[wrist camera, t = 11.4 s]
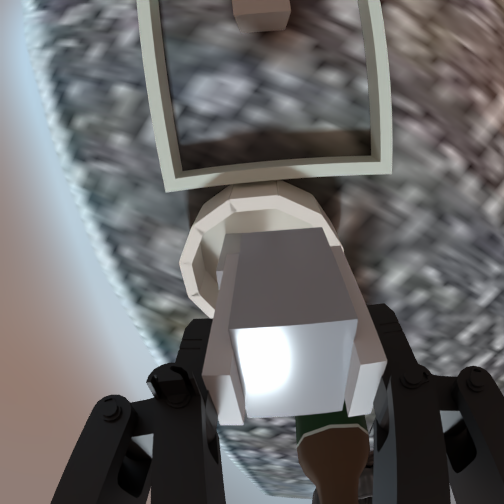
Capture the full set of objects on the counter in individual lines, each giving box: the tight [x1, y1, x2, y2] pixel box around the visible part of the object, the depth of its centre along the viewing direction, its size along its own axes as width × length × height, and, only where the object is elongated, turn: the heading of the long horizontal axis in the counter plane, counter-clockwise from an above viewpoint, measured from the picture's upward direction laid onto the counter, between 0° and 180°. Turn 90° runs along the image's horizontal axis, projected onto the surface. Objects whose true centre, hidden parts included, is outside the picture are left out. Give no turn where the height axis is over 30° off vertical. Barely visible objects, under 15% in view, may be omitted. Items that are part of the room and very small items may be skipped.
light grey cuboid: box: [228, 227, 358, 418], centre depth 11 cm, size 4×3×6 cm
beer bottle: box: [295, 399, 370, 504], centre depth 26 cm, size 8×8×24 cm
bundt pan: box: [312, 466, 374, 504], centre depth 57 cm, size 26×26×10 cm
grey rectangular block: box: [216, 233, 242, 289], centre depth 25 cm, size 4×3×6 cm
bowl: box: [179, 180, 344, 318], centre depth 26 cm, size 13×13×4 cm
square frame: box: [137, 0, 392, 192], centre depth 19 cm, size 18×18×2 cm
